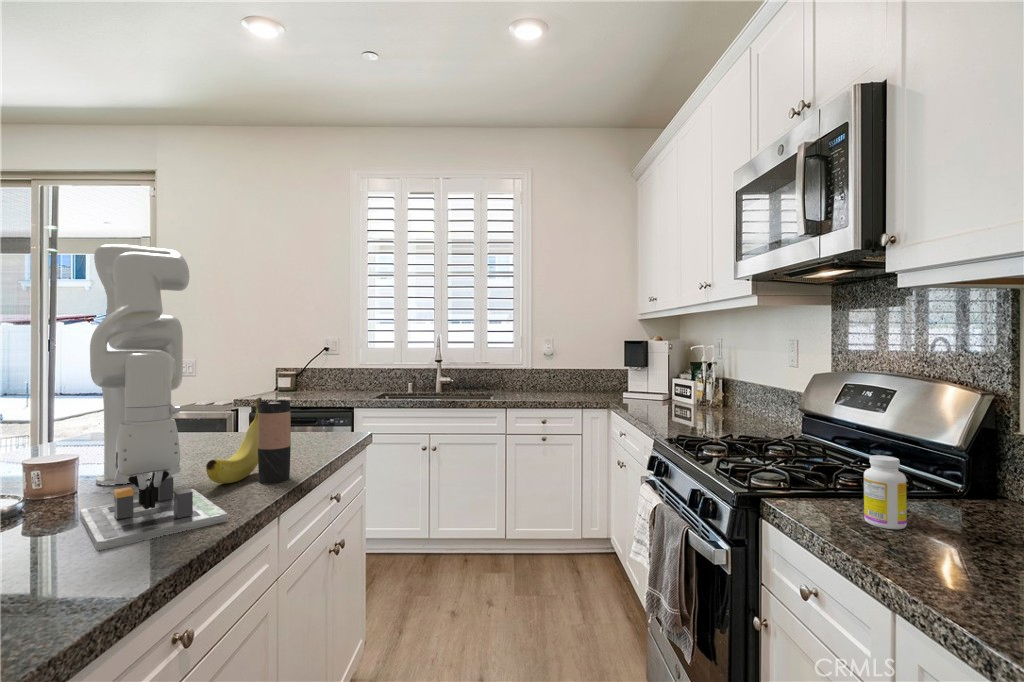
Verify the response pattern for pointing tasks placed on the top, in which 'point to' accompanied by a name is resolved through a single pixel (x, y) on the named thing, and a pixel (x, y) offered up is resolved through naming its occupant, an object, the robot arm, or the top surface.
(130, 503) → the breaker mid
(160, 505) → the panel
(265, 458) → the travel mug
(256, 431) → the banana
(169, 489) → the block
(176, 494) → the breaker near
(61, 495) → the top surface
